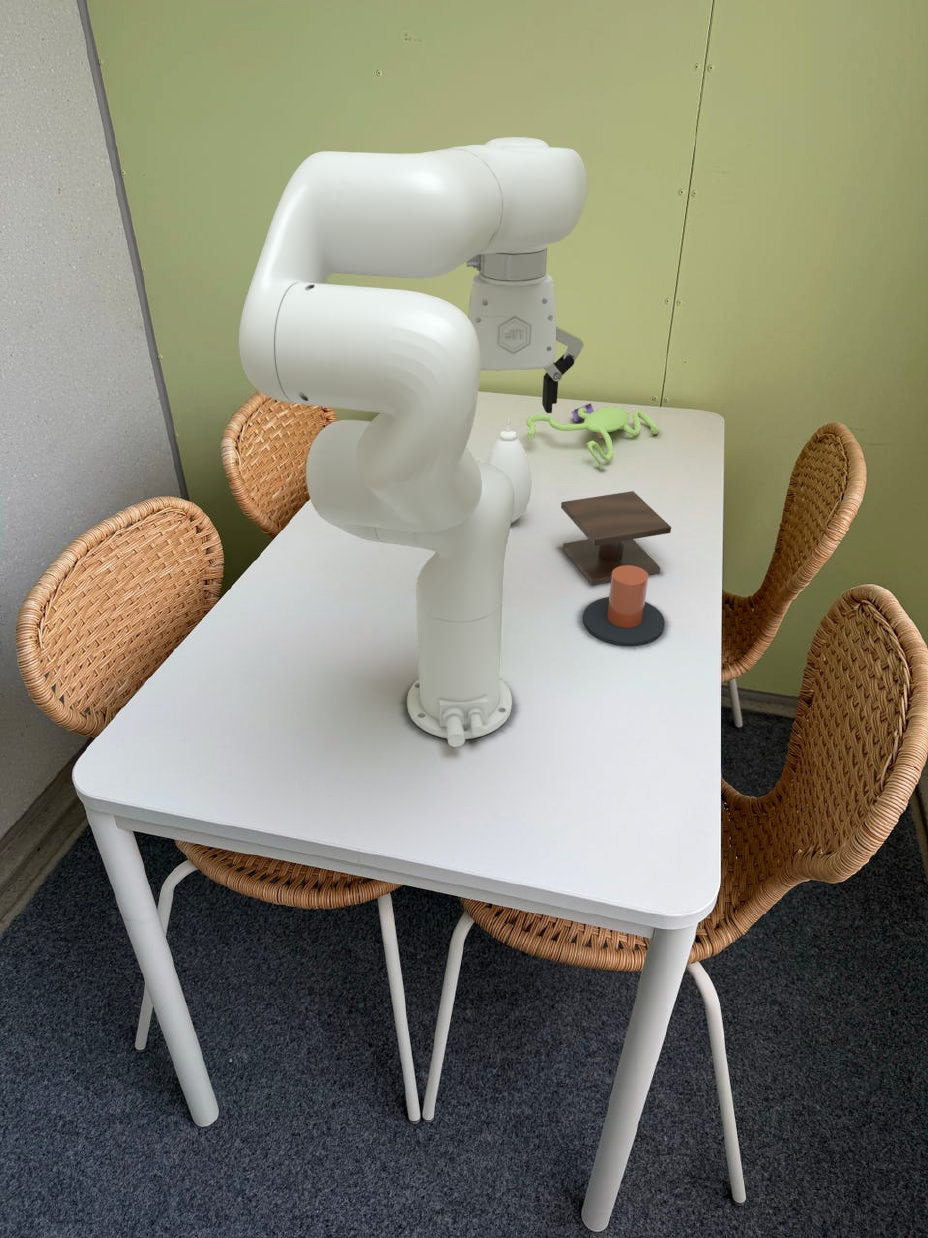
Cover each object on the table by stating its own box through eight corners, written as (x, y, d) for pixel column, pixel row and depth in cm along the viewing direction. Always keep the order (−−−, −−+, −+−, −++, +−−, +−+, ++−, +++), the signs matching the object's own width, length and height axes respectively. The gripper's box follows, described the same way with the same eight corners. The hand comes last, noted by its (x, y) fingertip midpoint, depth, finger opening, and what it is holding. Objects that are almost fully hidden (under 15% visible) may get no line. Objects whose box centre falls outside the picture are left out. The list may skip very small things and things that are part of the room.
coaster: (674, 643, 115) (675, 639, 114) (592, 648, 114) (593, 644, 114) (651, 597, 124) (651, 594, 123) (575, 601, 123) (575, 598, 123)
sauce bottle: (528, 509, 145) (533, 406, 135) (530, 532, 139) (535, 426, 129) (482, 509, 146) (483, 406, 135) (481, 532, 139) (483, 426, 129)
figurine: (511, 448, 166) (512, 421, 162) (589, 408, 182) (591, 382, 179) (592, 476, 156) (595, 447, 153) (667, 431, 172) (671, 404, 169)
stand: (664, 574, 129) (671, 527, 124) (590, 587, 126) (595, 539, 121) (627, 536, 138) (633, 490, 134) (557, 547, 135) (561, 501, 131)
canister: (646, 627, 117) (653, 583, 113) (611, 629, 116) (616, 585, 112) (637, 607, 121) (643, 564, 117) (603, 609, 120) (608, 566, 116)
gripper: (437, 274, 93) (440, 424, 103) (596, 270, 95) (583, 419, 104) (433, 257, 99) (436, 401, 109) (582, 254, 101) (571, 397, 111)
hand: (508, 410), depth 107 cm, fingers open, 9 cm apart
